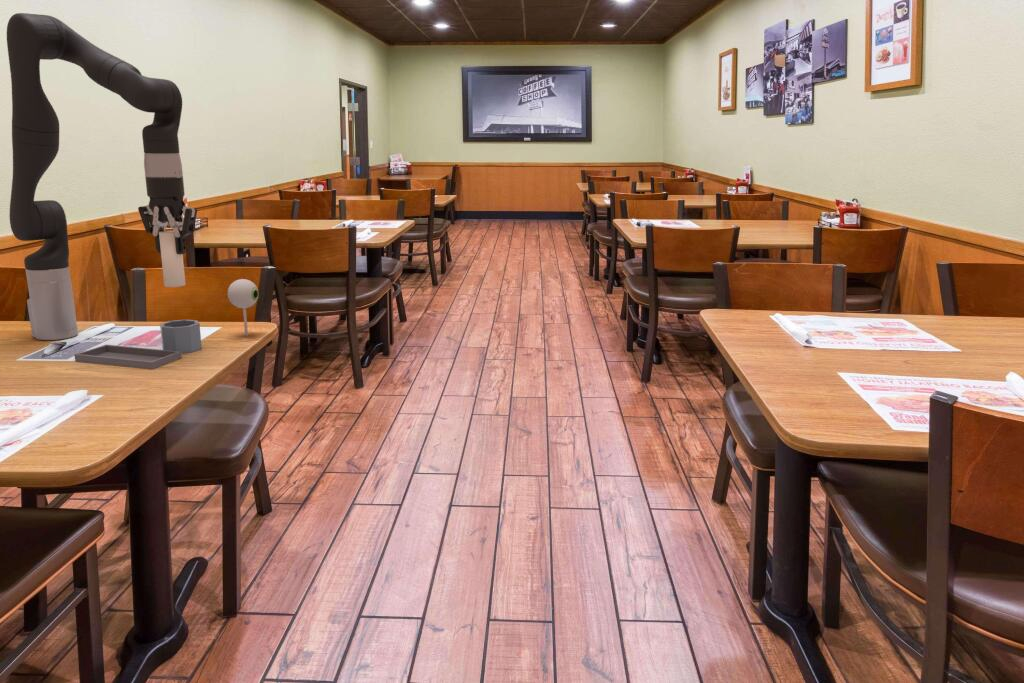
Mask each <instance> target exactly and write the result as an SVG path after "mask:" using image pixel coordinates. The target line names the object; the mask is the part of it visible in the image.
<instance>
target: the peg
mask: <svg viewBox="0 0 1024 683" xmlns="http://www.w3.org/2000/svg"><path fill="white" fill-rule="evenodd" d="M175 238H177V237H176V236H175V233H174V230H165V231H161V232H159V239H160V248H161V253H160V255H161V258H160V259H161V265H162V266H161V267H162V275H163V276H162V277H163V284H164V285H163V286H164V287H166V288H179V287H184V286H186V276H185V275H186V274H185V264H184V254H177V253H176V244H175Z"/></svg>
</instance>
